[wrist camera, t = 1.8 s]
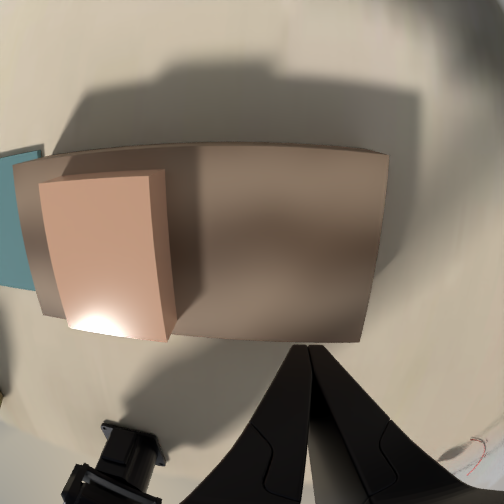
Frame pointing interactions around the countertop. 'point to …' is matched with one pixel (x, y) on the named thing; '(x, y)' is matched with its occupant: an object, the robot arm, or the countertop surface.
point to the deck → (244, 233)
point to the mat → (13, 228)
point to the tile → (112, 252)
